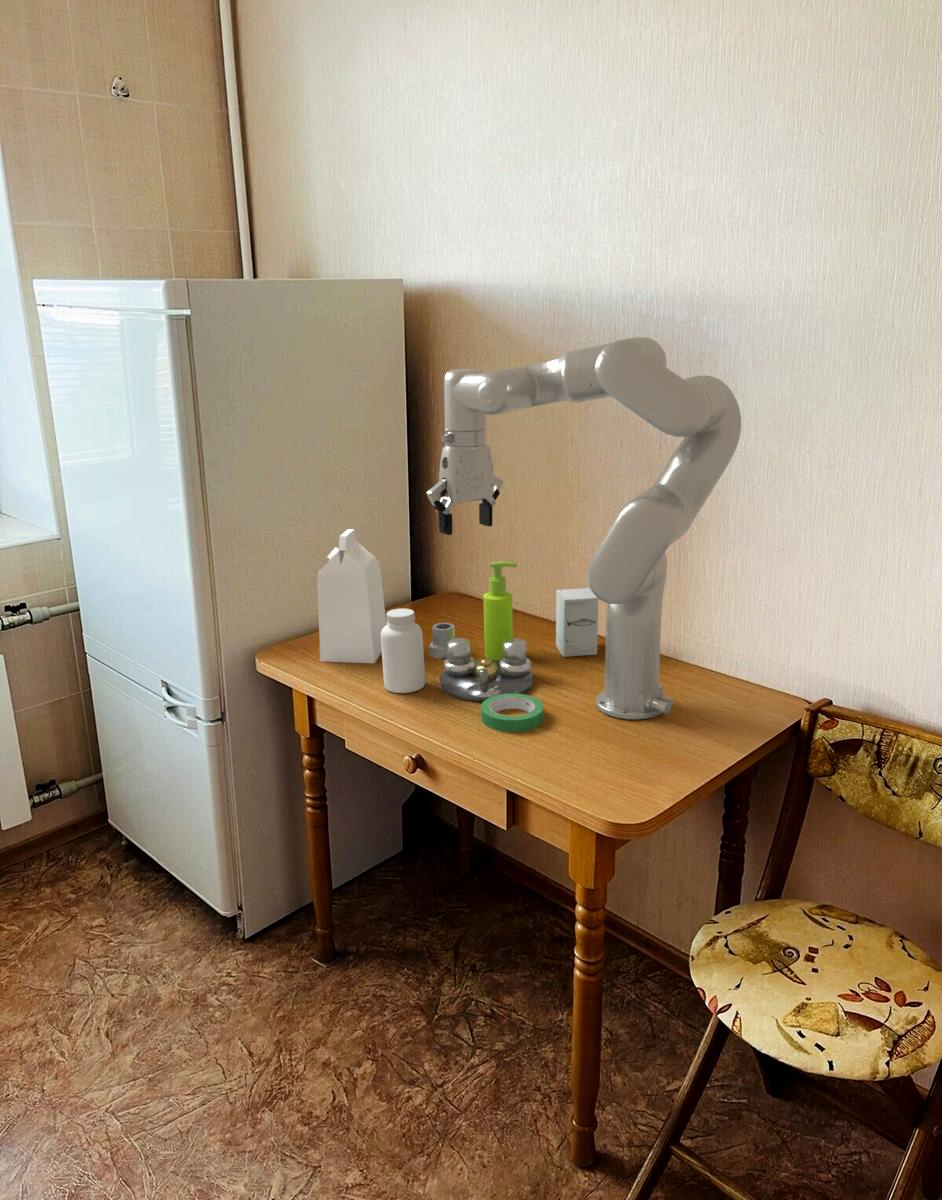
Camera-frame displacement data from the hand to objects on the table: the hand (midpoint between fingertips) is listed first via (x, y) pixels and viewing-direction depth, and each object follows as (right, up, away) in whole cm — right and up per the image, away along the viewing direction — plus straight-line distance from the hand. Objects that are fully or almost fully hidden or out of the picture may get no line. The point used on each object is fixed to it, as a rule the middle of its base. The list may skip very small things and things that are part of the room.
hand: (466, 529), depth 180 cm
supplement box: (+23, -24, +20) cm, 39 cm away
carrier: (+4, -29, +4) cm, 30 cm away
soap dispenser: (+7, -25, +18) cm, 32 cm away
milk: (-24, -24, +22) cm, 41 cm away
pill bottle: (-12, -30, +4) cm, 33 cm away
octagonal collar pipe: (-5, -24, +20) cm, 32 cm away
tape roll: (+8, -35, -11) cm, 37 cm away
